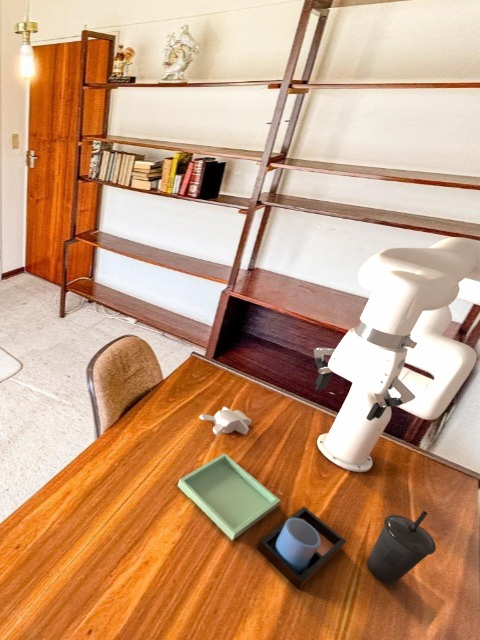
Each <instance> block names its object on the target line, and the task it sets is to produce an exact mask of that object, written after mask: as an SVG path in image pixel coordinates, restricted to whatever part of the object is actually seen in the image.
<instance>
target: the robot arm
mask: <svg viewBox="0 0 480 640" xmlns="http://www.w3.org/2000/svg"><path fill="white" fill-rule="evenodd" d="M357 281H358V284H359V285H360V287H361V288H363V289H364V290H367V291H369V292H371V294H370V297H369V299H368V300H367V303H366V305H365V306H364V308H363V311H362V313H361V316H360V317H359V319H358V321H357V323H356V325H355V327H352V328H350V329H349V330H348V331H347V333H346V334H345V335H344V336H343V337H342V339H341V340H340V342H339V343H338V344H337V346H336V348H332V347H331V348H330V347H329V348H328V347H316V348H314V349H313V354H314V363H315V365H316V366H317V372H318V376H317V378H316V380H315V384H316V386H315V391H319V392H320V391H322V390H324V389H326V388H327V386H328V384H329V382H330V380H331V377H332V375H333V373H334V374H336V375H338V376H339V377H342V378H343V379H346V380H348V381H349V382H351V386H350V389H349V392H348V393H347V396H346V398H345V400H344V402H343V404H342V406H341V408H340V409H339V412H338V413H337V416H336V417H335V419H334V422H333V424H332V426H331V428H330V429H329V431H328V432H327V433H322V434H320V435H319V436H318V438H317V441H316V444H317V447H318V450H319V451H320V453H322V454H323V456H324V457H326V458H327V459H328V460H329V461H330V462H332V463H333V464H335V465H337V466H338V467H341V468H343V469H345V470H347V471H352V472H356V473H357V472H358V473H364V472H368V471H370V470H371V468H372V467H373V458H372V457H371V455H370V454H371V453H372V451H373V449H374V448H375V446H376V444H377V443H378V441H379V439H380V437H381V435H382V434H383V433H384V431H385V429H386V428H387V425H388V424H389V422H390V421H391V419H392V407H397V408H400V409H402V410H403V411H405V412H407V413H410V414H412V415H413V416H415V417H418V418H420V419H423V420H426V421H433V420H435V419H438V418H439V417H440V416H442V415H443V413H444V412H445V411H446V409H447V408H448V407H449V406H450V403H451V402H452V401H453V399H454V397H455V396H456V395H457V393H458V392H459V391H460V389H461V387H462V385H464V383H465V381H466V380H467V378H468V377H469V375H470V374H471V372H472V371H473V369H474V368H475V365H476V362H477V353H476V351H475V349H474V348H472V347H471V346H470V345H468V344H466V343H463V342H460V341H457V340H455V339H453V338H450V337H448V336H446V335H444V333H445V331H446V330H447V328H448V327H449V325H450V324H451V323H452V321H453V314H452V312H451V308H450V305H451V304H453V302H454V301H455V300H457V299H458V300H460V301H462V302H463V301H464V302H467V303H471V304H474V305H477V306H480V240H478V239H473V238H467V237H459V236H458V237H457V236H455V237H448V238H444V239H441V240H439V241H437V242H436V243H434V244H432V245H431V246H430V247H391V248H386V249H383V250H381V251H379V252H378V253H376V254H374V255H373V256H371V257H370V258H368V259H367V260H366V262H364V264H363V265H362V266H361V268H360V270H359V272H358V275H357ZM325 356H330V359H329V360H328V363H327V360H326V359H325ZM405 364H407V365H409V366H412V367H414V368H416V369H419V370H420V371H423V372H426V373H428V374H430V375H431V376H432V377H433V378H431V377H428V376H425V375H424V374H422V373H418V372H417V371H414V370H412V369H410V368H408V367H405Z"/></svg>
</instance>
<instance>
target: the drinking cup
mask: <svg viewBox="0 0 480 640" xmlns="http://www.w3.org/2000/svg"><path fill="white" fill-rule="evenodd" d="M427 516H428V512H427V511H425V510H422V512H421V513H420V514H419V516H418V517H417V519H416V520H415V521H413V520H412V519H409V518H408V517H405V516H403V515H400V514H399V515H398V514H388V515H387V516H386V517H384V518H385V519H384V524H383V527H382V529H381V530H380V533H379V535H378V537H377V539H376V542H375V544H374V546H373V548H372V550H371V552H370V554H369V557H368V558H367V561H366V567H367V569H368V571H369V572H370V573H371V575H372V576H373V577H375V578H376V579H377V580H378V581H380V582H381V583H383V584H386V585H395V584H396V583H397V582H398V581H399V580H401V578H403V577H404V576H405V575H406V574H408V572H410V571H411V570H412V569H413V568H415V567H416V566H417V565H418V564H419V563H420V562H422V561H423V560H424V559H425V558H426V557H427V556H430V555H433V554H434V553H435V552H436V549H437V545H436V543H435V540H434V538H433V537H432V535H431V534H430V533H429V532H428V531H427V530H426V529H425V528H424V527H423V526H421V524H422V522H423V521H424V520H425V519H426V517H427Z"/></svg>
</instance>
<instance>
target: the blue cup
mask: <svg viewBox="0 0 480 640" xmlns="http://www.w3.org/2000/svg"><path fill="white" fill-rule="evenodd" d="M286 520H287V521H286ZM286 520H285V521H286V523H285V525H284V527H283V529H282V531H281V532H280V534H279V536H278V538H277V540H276V542H275V544H274V546H273V550H274V551H275V552H276V553H277V554H278V555H279V556H280V557H281V558H282V559H284V560H285V561H286V562H287V563H288V564H289V565H290V566H291V567H292V568H293V569H294V570H295V571H296V572H297V573H302V572H304V571H305V569H306V567H307V565H308V564H309V562H310V560H311V559H312V557H313V555H314V554H315V552H316V550H317V549H318V547H319V545H320V543H321V540H320V536H319V534H318V533H317V531H316V530H315V529H314V528H313V527H312V526H311V525H310V524H309V523H307V522H305V521H304V520H301V519H299V518H290V517H289V518H288V519H286Z"/></svg>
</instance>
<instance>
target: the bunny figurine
mask: <svg viewBox="0 0 480 640" xmlns="http://www.w3.org/2000/svg"><path fill="white" fill-rule="evenodd" d="M199 419H200V420H202V421H206V422H207V421H209V422H214V426H213V427H212V431H213V434H214V435H216V436H221V435H222V434H223V433H224V434H230V433H233V432H234V431H236V432H238V433H240V434H243V435H247V434H248V432H249V430H250V428H249V426H251V424H252V422H253V421H252V419H251V418H249V417H248V416H247V415H246V414H245V413H244V411H243V412H242V411H240V409H235V410H232V409H230V408H229V407H227V406H223V407H222V408H221V409H220V410H218V411H217V412H216V413H215V414H214V415H211V414H207V413H202V414H200V415H199Z"/></svg>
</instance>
